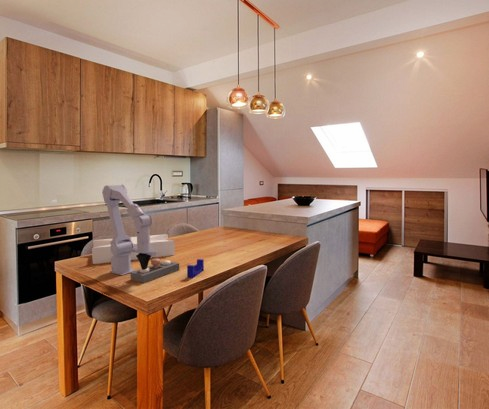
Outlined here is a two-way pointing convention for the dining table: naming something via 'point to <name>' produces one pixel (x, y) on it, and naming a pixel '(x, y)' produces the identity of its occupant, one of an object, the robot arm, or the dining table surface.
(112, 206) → the robot arm
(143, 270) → the knob near
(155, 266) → the knob middle
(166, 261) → the knob far
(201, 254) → the dining table surface
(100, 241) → the building model
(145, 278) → the mount
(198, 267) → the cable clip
